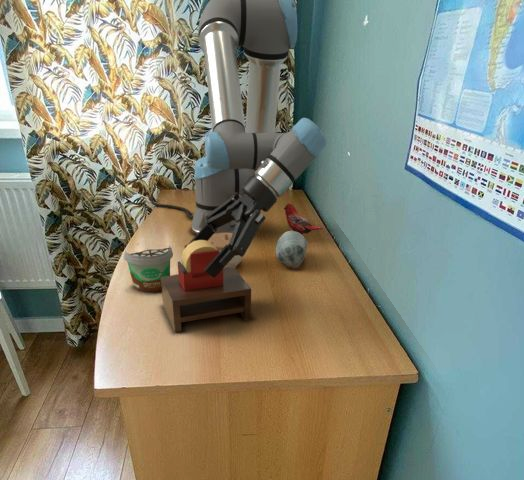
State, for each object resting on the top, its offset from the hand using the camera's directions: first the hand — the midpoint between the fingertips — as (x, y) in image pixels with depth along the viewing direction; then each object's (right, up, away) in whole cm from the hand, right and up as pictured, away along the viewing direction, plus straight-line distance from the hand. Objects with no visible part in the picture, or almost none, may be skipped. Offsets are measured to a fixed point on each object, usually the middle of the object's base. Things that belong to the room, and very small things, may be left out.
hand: (199, 261), depth 100 cm
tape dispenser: (0, -4, +3) cm, 5 cm away
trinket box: (+3, +5, +31) cm, 31 cm away
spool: (+22, +7, +35) cm, 42 cm away
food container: (-14, -4, +17) cm, 23 cm away
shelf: (0, -11, +8) cm, 13 cm away
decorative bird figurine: (+26, +17, +50) cm, 59 cm away
